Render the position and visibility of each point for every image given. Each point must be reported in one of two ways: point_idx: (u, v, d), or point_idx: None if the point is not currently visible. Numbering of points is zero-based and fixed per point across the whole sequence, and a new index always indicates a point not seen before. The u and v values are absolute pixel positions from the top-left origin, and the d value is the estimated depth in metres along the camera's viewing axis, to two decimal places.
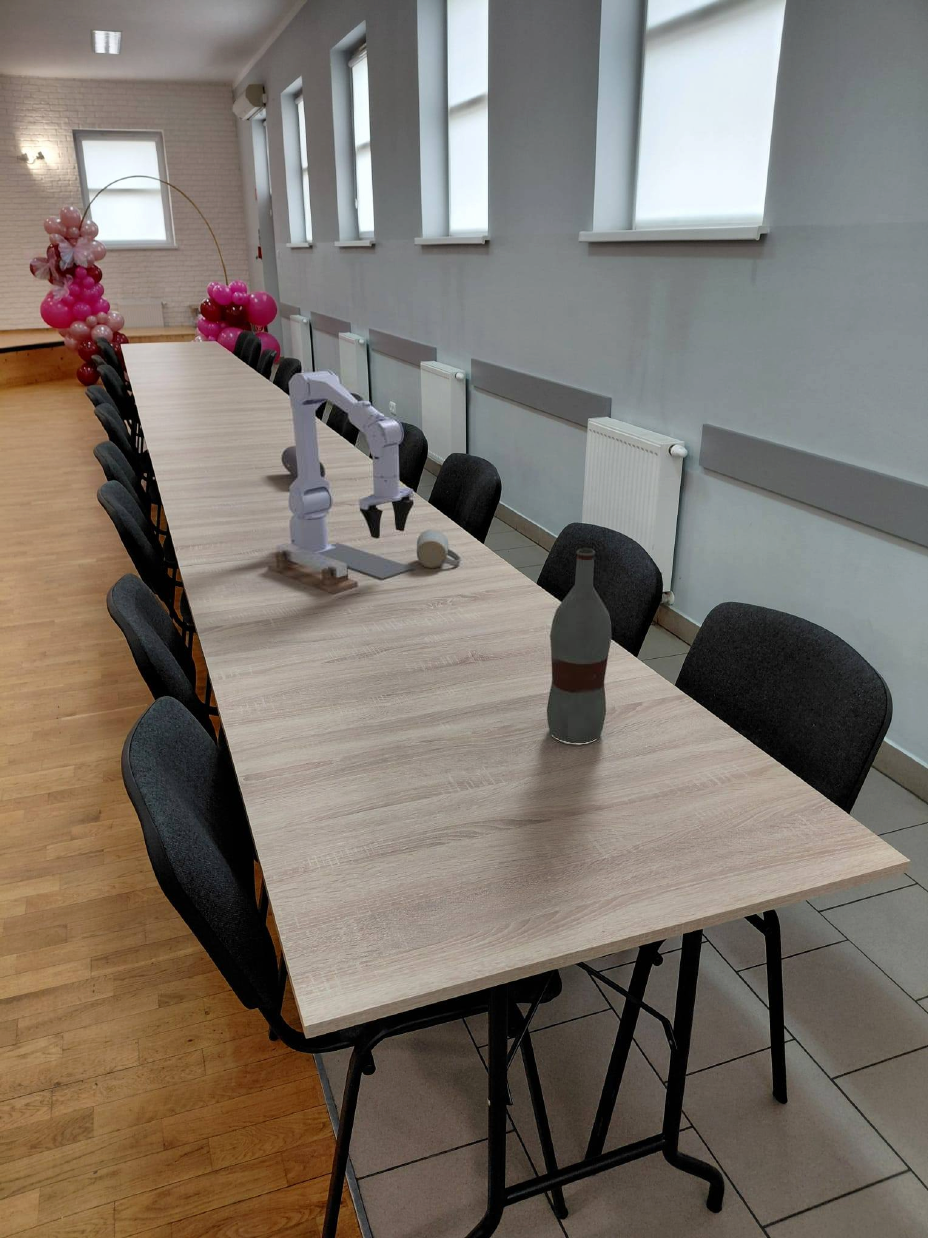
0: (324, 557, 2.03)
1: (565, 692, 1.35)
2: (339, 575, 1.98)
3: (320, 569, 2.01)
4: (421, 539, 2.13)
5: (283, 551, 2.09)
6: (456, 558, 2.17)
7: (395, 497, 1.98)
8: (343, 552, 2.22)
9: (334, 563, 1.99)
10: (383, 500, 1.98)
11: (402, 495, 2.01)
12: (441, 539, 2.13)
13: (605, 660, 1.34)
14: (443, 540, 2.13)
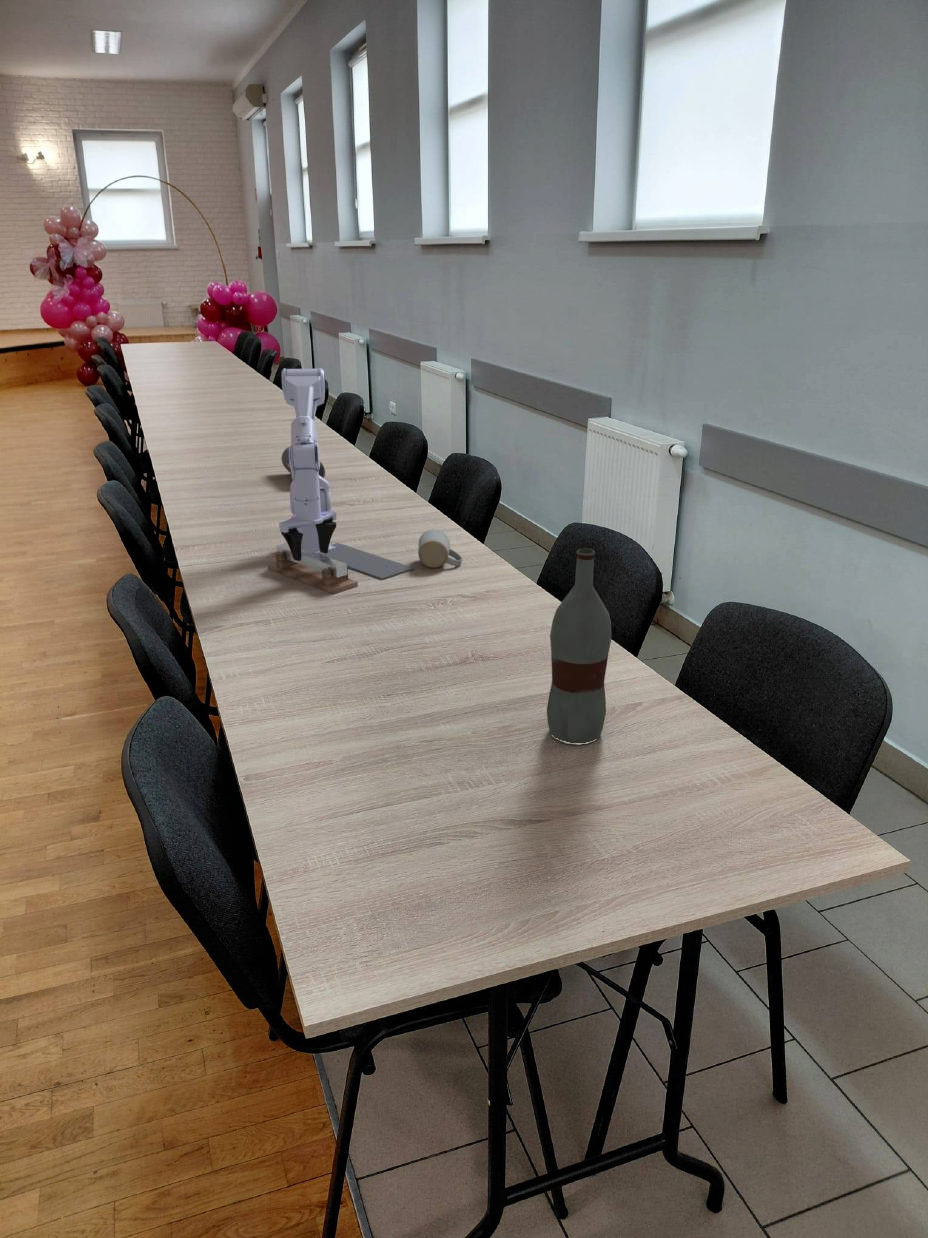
0: (324, 557, 2.03)
1: (565, 692, 1.35)
2: (339, 575, 1.98)
3: (320, 569, 2.01)
4: (423, 539, 2.13)
5: (283, 551, 2.09)
6: (458, 558, 2.17)
7: (316, 520, 1.99)
8: (343, 552, 2.22)
9: (334, 563, 1.99)
10: (303, 523, 1.98)
11: (324, 518, 2.02)
12: (443, 539, 2.13)
13: (605, 660, 1.34)
14: (445, 540, 2.13)
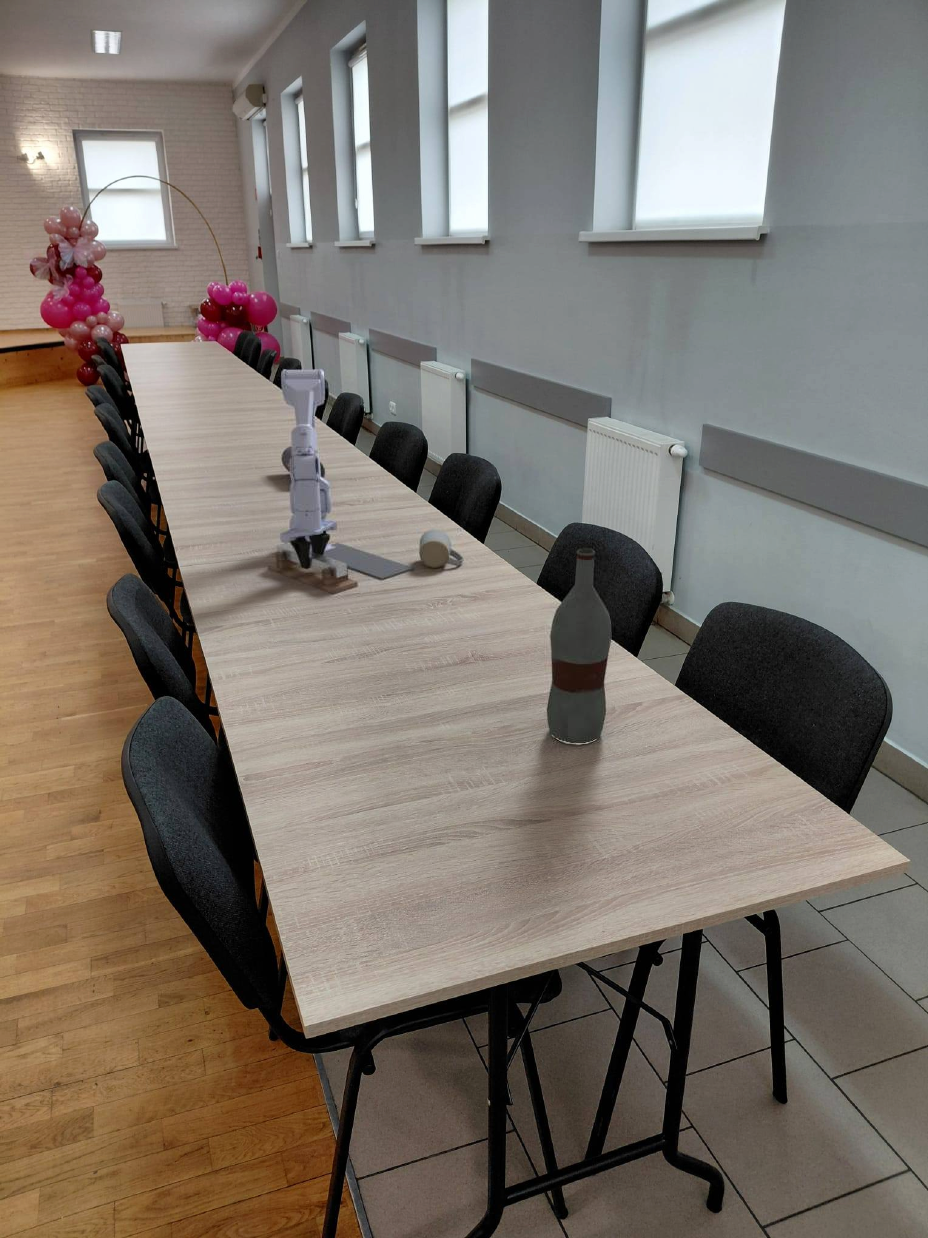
0: (324, 557, 2.03)
1: (565, 692, 1.35)
2: (339, 575, 1.98)
3: (320, 569, 2.01)
4: (424, 539, 2.13)
5: (283, 551, 2.09)
6: (459, 558, 2.17)
7: (316, 530, 2.00)
8: (343, 552, 2.22)
9: (334, 563, 1.99)
10: (304, 534, 1.99)
11: (324, 528, 2.03)
12: (444, 539, 2.13)
13: (605, 660, 1.34)
14: (446, 540, 2.13)
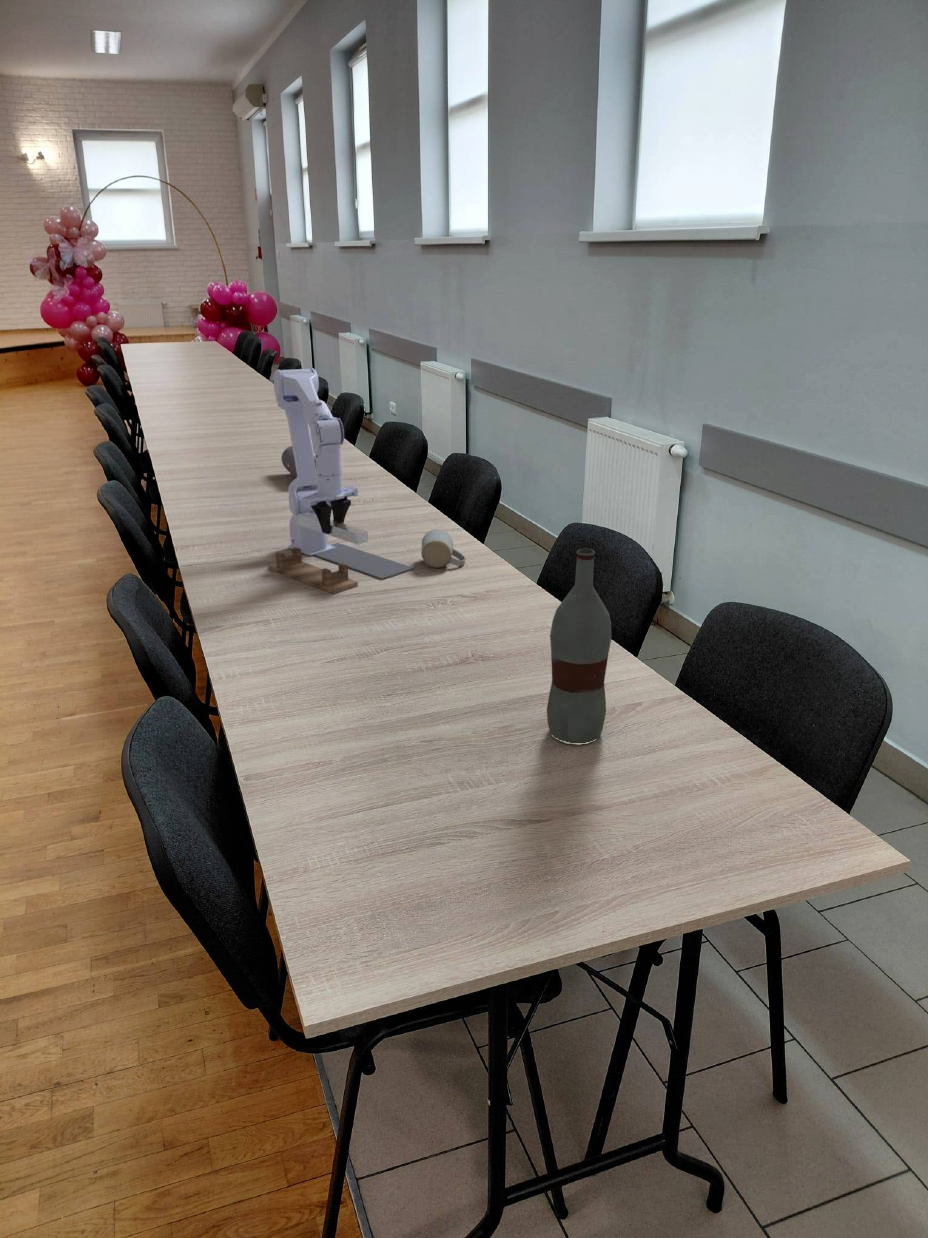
0: (345, 525, 2.05)
1: (565, 692, 1.35)
2: (360, 542, 2.00)
3: (341, 537, 2.03)
4: (426, 539, 2.13)
5: (304, 520, 2.12)
6: (461, 558, 2.17)
7: (338, 495, 2.02)
8: (343, 552, 2.22)
9: (355, 531, 2.01)
10: (326, 498, 2.01)
11: (346, 493, 2.05)
12: (446, 539, 2.13)
13: (605, 660, 1.34)
14: (448, 540, 2.13)
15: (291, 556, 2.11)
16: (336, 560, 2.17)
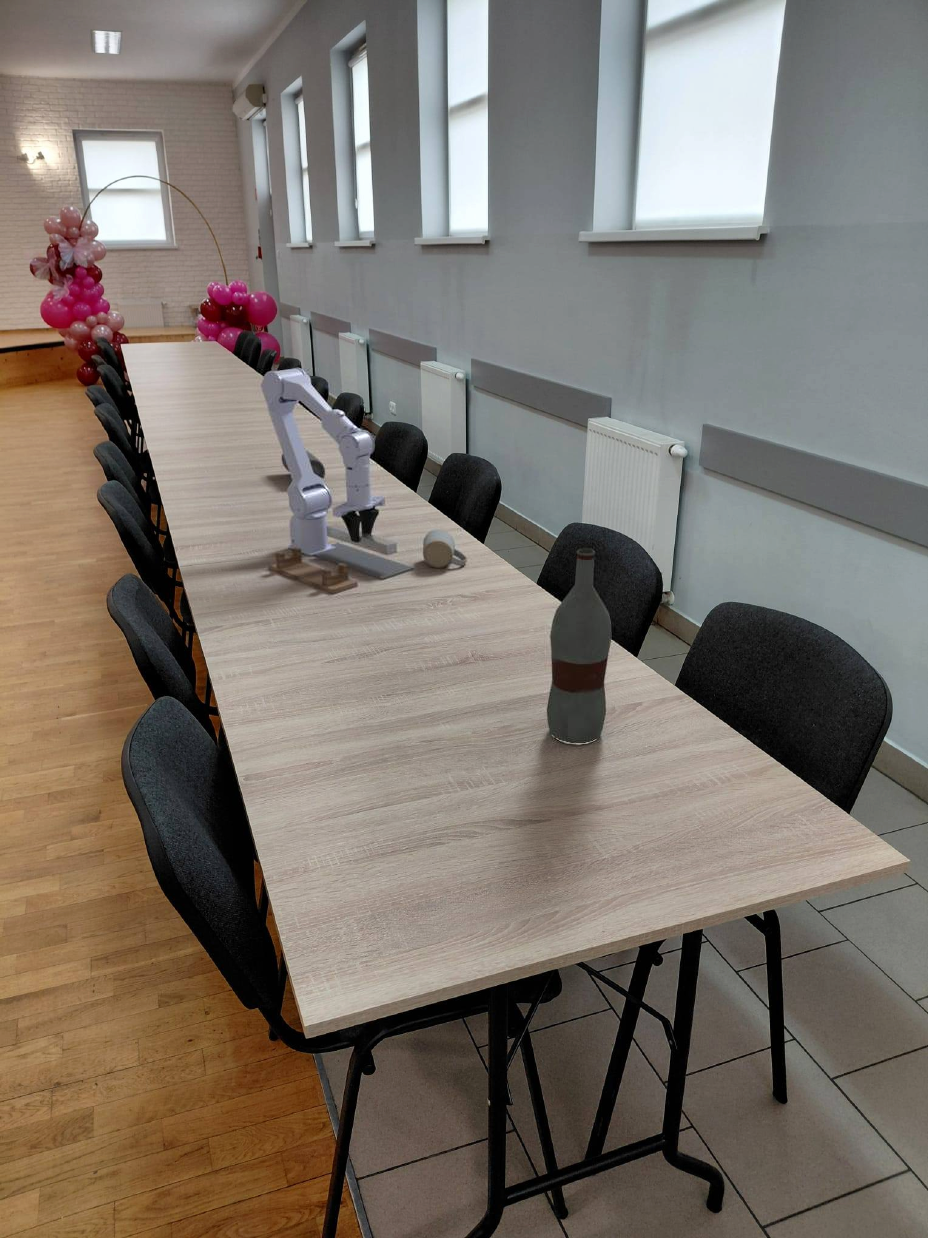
0: (373, 536, 2.12)
1: (565, 692, 1.35)
2: (389, 553, 2.08)
3: (370, 548, 2.11)
4: (427, 539, 2.13)
5: (333, 531, 2.19)
6: (462, 558, 2.17)
7: (367, 505, 2.09)
8: (343, 552, 2.22)
9: (384, 542, 2.08)
10: (355, 508, 2.08)
11: (374, 503, 2.12)
12: (448, 539, 2.13)
13: (605, 660, 1.34)
14: (449, 540, 2.13)
15: (291, 556, 2.11)
16: (336, 560, 2.17)
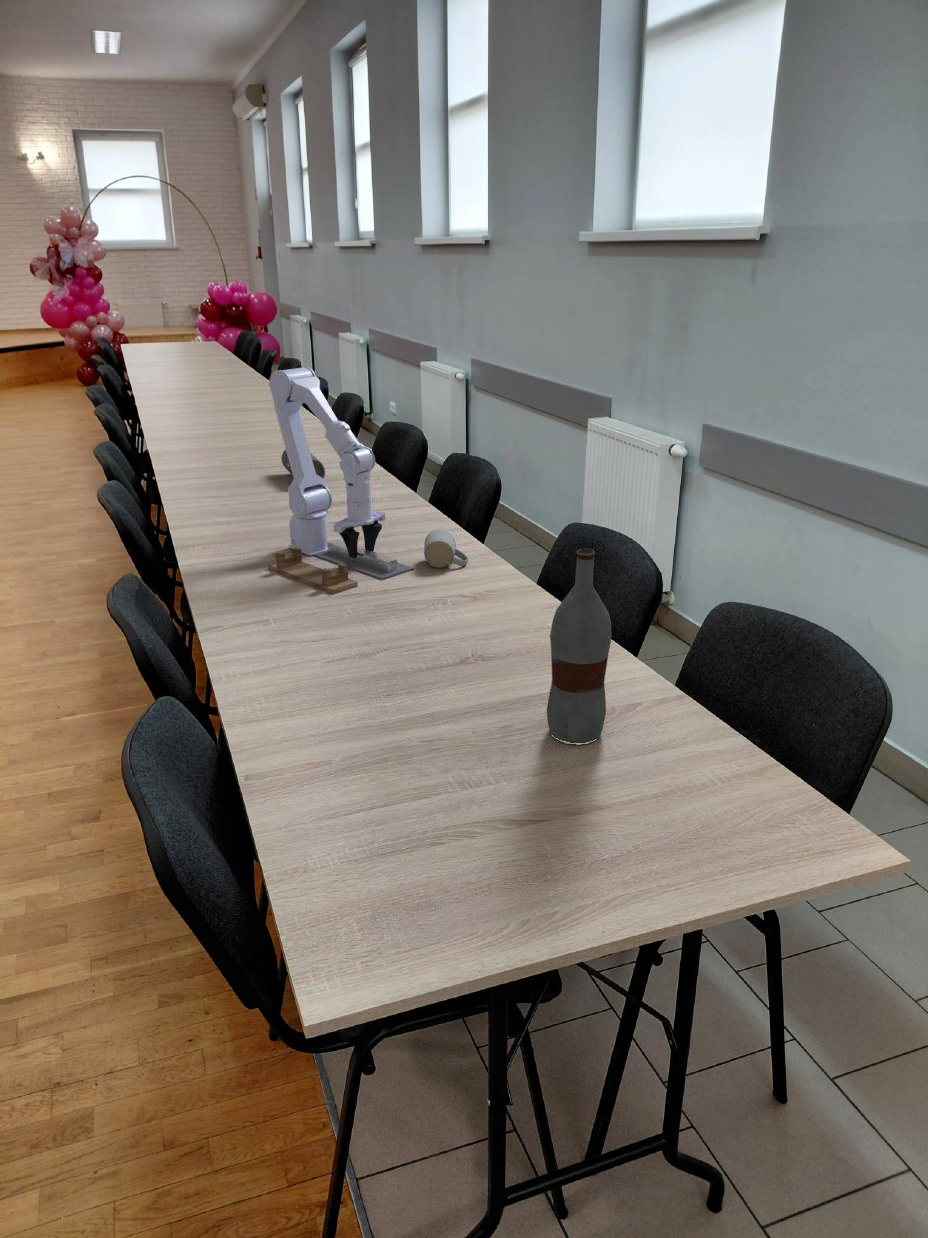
0: (374, 553, 2.14)
1: (565, 692, 1.35)
2: (389, 570, 2.09)
3: (371, 564, 2.12)
4: (429, 539, 2.13)
5: (334, 547, 2.21)
6: (463, 558, 2.17)
7: (367, 521, 2.10)
8: None
9: (384, 559, 2.10)
10: (356, 524, 2.10)
11: (374, 519, 2.13)
12: (449, 539, 2.13)
13: (605, 660, 1.34)
14: (451, 540, 2.13)
15: (291, 556, 2.11)
16: (336, 560, 2.17)
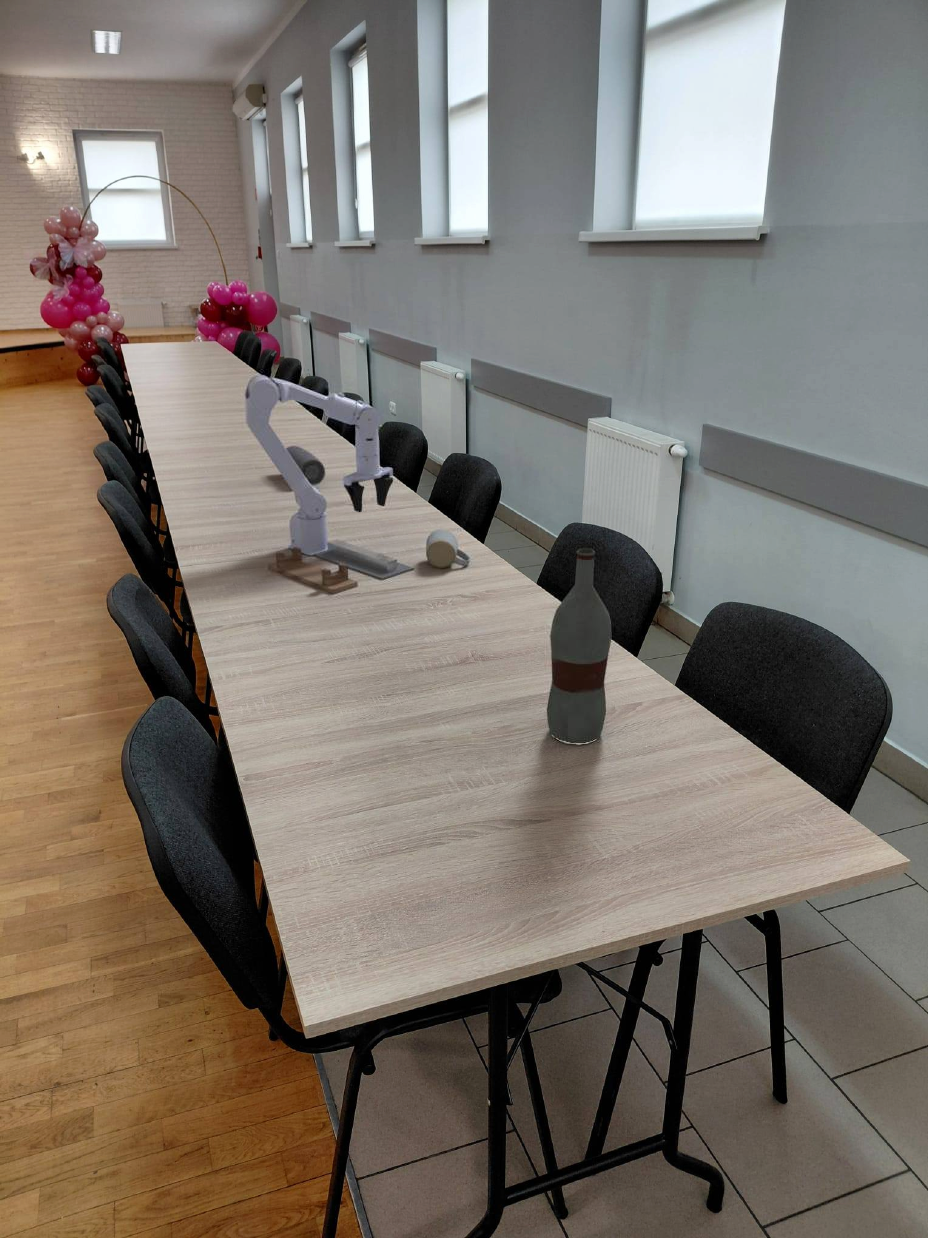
0: (374, 553, 2.14)
1: (565, 692, 1.35)
2: (389, 570, 2.09)
3: (371, 564, 2.12)
4: (430, 539, 2.13)
5: (334, 547, 2.21)
6: (465, 558, 2.17)
7: (375, 474, 2.21)
8: None
9: (384, 559, 2.10)
10: (365, 477, 2.20)
11: (382, 473, 2.24)
12: (451, 539, 2.13)
13: (605, 660, 1.34)
14: (452, 540, 2.13)
15: (291, 556, 2.11)
16: (336, 560, 2.17)
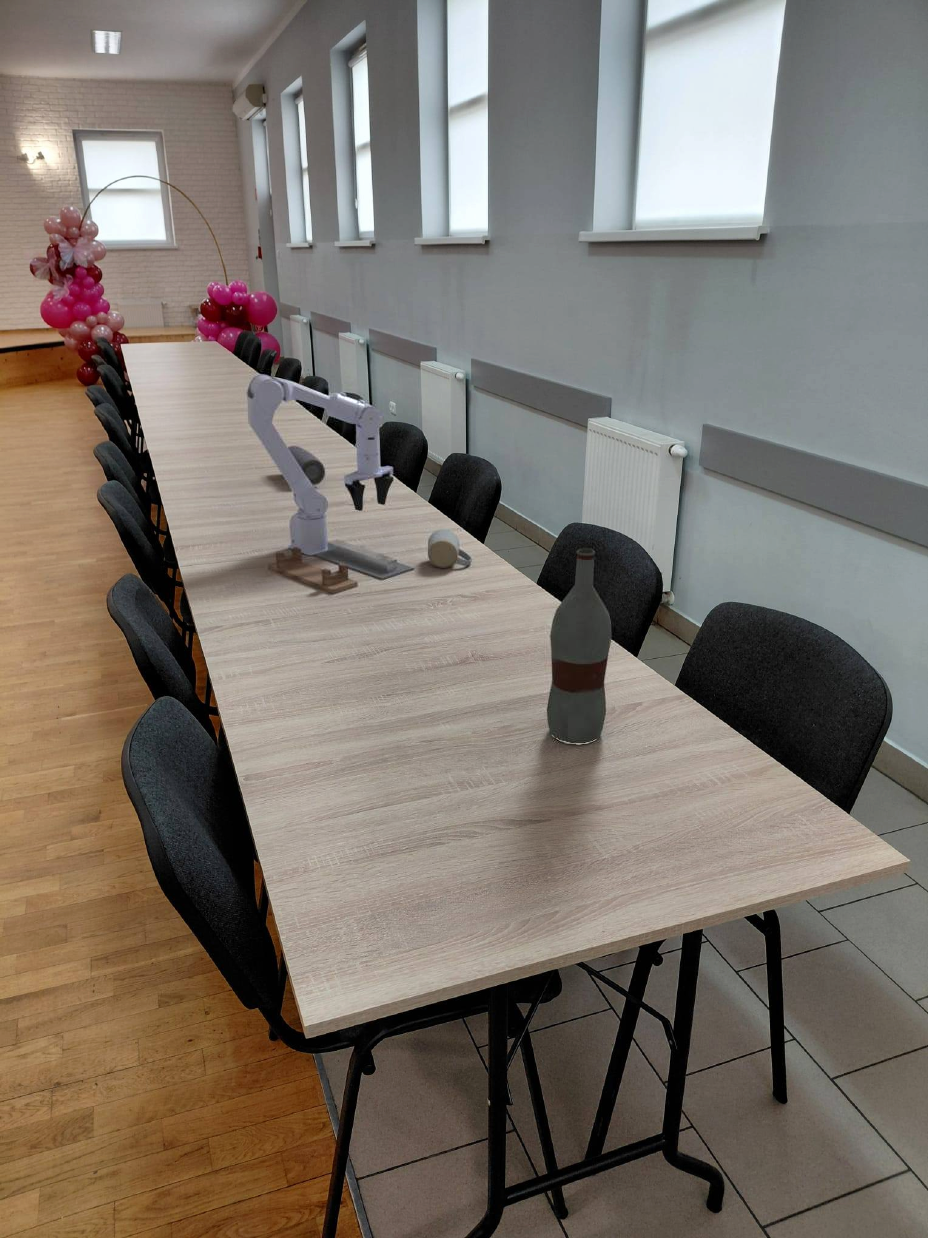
0: (374, 553, 2.14)
1: (565, 692, 1.35)
2: (389, 570, 2.09)
3: (371, 564, 2.12)
4: (432, 539, 2.13)
5: (334, 547, 2.21)
6: (467, 558, 2.17)
7: (376, 473, 2.22)
8: None
9: (384, 559, 2.10)
10: (365, 476, 2.21)
11: (383, 472, 2.25)
12: (452, 539, 2.13)
13: (605, 660, 1.34)
14: (454, 540, 2.13)
15: (291, 556, 2.11)
16: (336, 560, 2.17)
